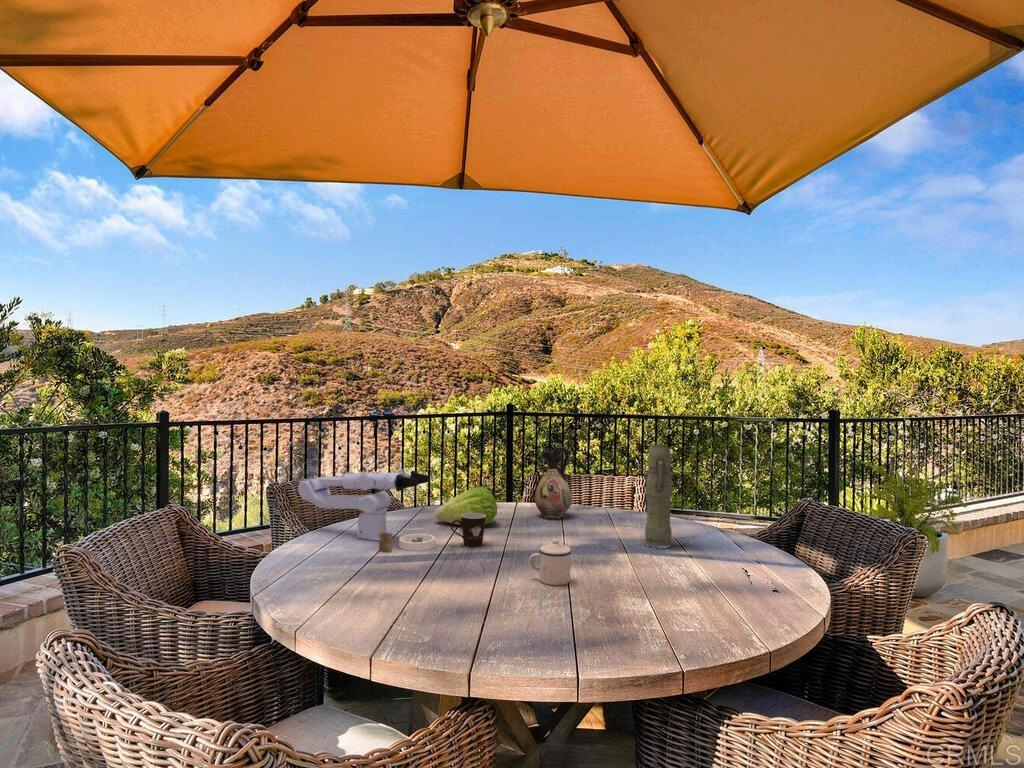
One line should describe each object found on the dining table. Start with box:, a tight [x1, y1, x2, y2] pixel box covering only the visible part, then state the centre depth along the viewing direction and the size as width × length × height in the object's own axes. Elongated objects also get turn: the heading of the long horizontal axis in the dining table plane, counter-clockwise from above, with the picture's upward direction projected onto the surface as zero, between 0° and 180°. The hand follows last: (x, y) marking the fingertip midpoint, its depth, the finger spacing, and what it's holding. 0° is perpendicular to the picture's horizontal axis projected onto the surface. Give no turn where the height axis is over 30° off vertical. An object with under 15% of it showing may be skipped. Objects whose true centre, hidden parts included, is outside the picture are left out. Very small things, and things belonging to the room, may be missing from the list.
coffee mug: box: [450, 513, 486, 548], centre depth 203 cm, size 12×9×10 cm
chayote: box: [434, 486, 498, 526], centre depth 232 cm, size 15×24×16 cm
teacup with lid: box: [528, 538, 572, 586], centre depth 168 cm, size 12×9×12 cm
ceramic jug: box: [534, 445, 573, 519], centre depth 247 cm, size 17×15×30 cm
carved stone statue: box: [644, 444, 673, 546], centre depth 206 cm, size 9×12×35 cm
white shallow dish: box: [398, 533, 436, 552], centre depth 200 cm, size 12×12×2 cm
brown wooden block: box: [378, 531, 393, 553], centre depth 193 cm, size 4×1×6 cm, turn 68°
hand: (423, 480), depth 203 cm, fingers open, 7 cm apart
